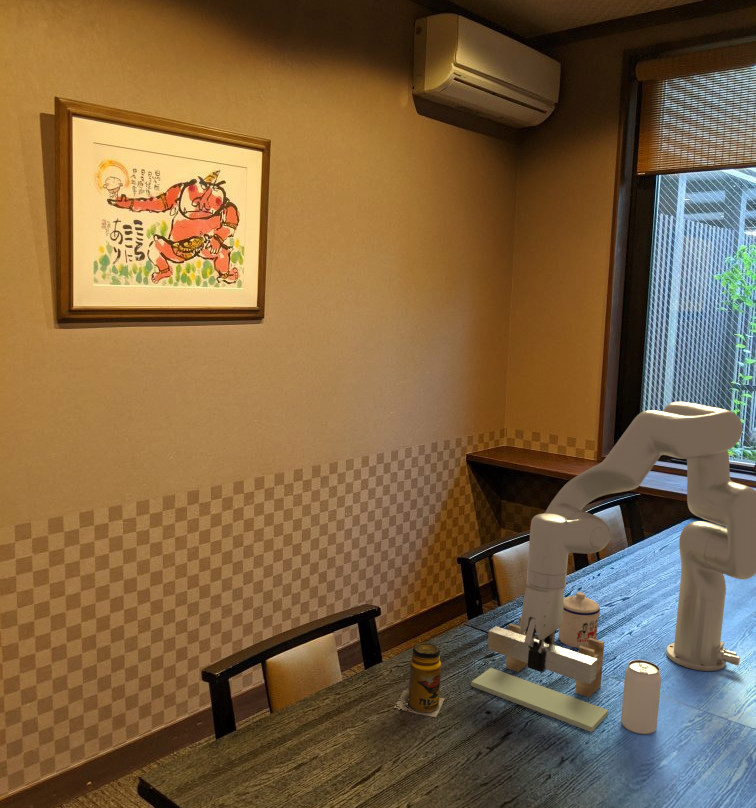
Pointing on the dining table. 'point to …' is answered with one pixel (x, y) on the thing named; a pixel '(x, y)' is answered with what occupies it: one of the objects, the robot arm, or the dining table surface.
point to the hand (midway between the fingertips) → (539, 665)
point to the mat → (541, 699)
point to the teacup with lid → (579, 620)
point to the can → (641, 697)
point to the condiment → (424, 681)
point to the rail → (554, 658)
